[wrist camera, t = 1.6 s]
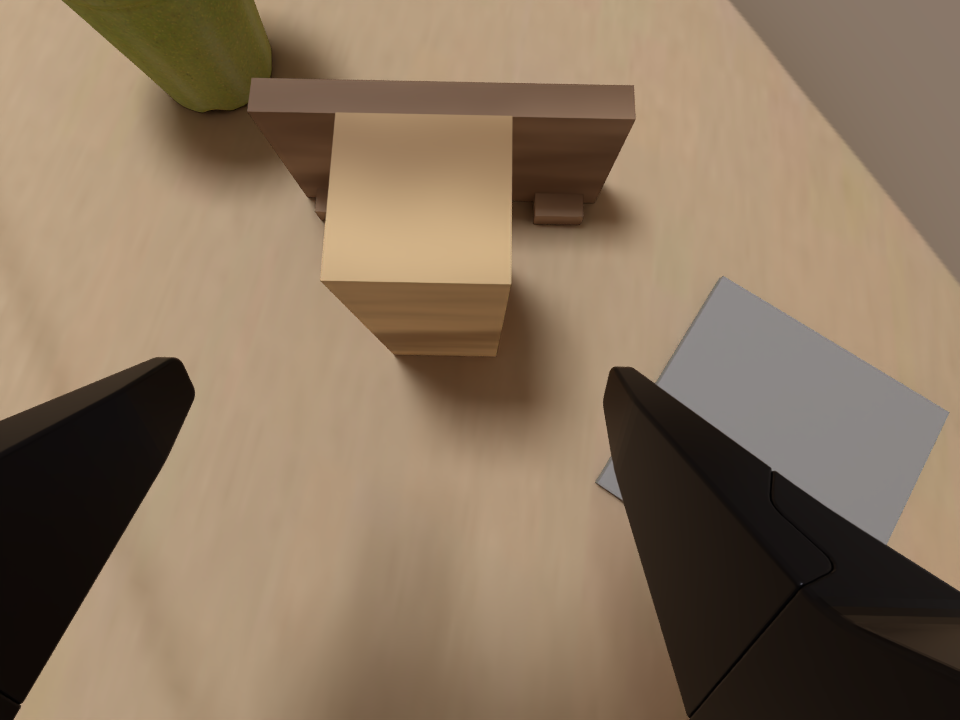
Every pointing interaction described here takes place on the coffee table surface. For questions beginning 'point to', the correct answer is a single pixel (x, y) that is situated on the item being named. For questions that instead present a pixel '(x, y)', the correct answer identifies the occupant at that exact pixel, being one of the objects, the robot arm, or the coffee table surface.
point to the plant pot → (187, 45)
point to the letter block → (422, 228)
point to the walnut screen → (534, 109)
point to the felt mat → (802, 407)
